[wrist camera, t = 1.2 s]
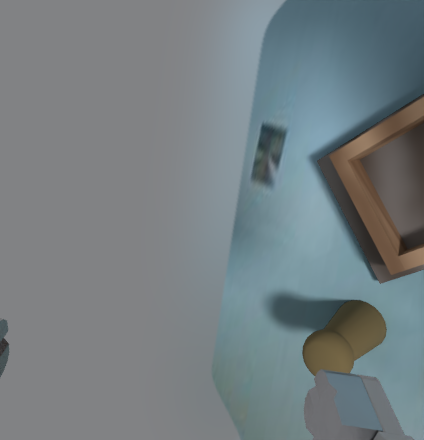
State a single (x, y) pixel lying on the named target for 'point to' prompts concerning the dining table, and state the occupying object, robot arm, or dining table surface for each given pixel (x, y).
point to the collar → (384, 190)
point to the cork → (344, 338)
